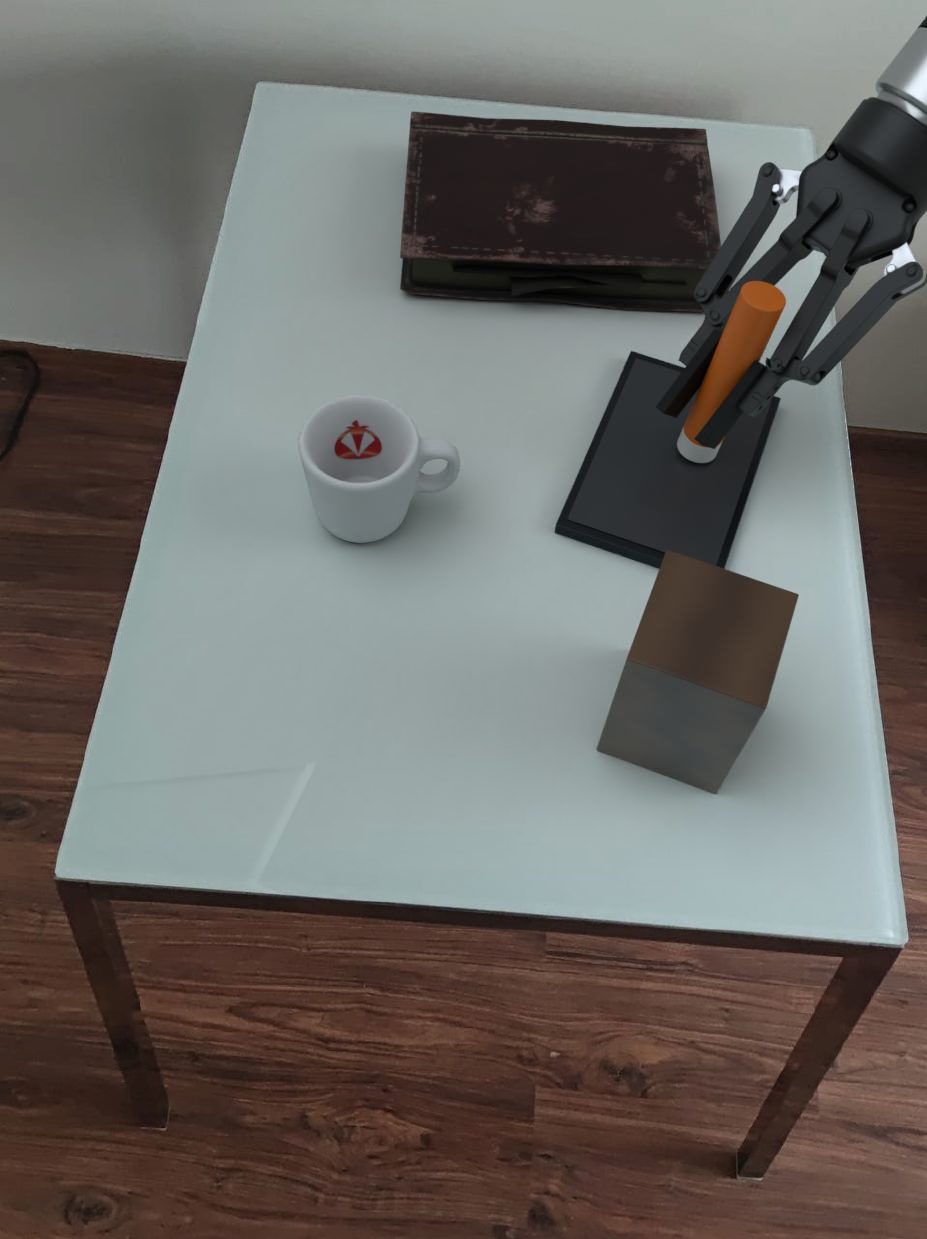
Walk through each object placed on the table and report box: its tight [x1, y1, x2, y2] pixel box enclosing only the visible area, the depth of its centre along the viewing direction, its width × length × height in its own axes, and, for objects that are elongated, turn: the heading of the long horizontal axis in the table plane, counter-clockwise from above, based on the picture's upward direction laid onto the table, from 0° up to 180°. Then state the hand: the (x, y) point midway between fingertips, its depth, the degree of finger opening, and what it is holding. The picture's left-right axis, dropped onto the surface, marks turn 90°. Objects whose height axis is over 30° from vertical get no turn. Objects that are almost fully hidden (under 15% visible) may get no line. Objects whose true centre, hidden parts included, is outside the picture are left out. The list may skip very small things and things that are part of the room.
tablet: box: [554, 350, 781, 570], centre depth 89 cm, size 12×18×1 cm, turn 159°
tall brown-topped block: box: [596, 550, 800, 795], centre depth 74 cm, size 8×8×12 cm
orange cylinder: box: [677, 281, 787, 463], centre depth 84 cm, size 3×3×14 cm
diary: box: [399, 111, 722, 313], centre depth 100 cm, size 19×25×5 cm
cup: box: [297, 394, 461, 544], centre depth 83 cm, size 11×8×8 cm
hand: (685, 427), depth 85 cm, fingers closed on orange cylinder, 3 cm apart
